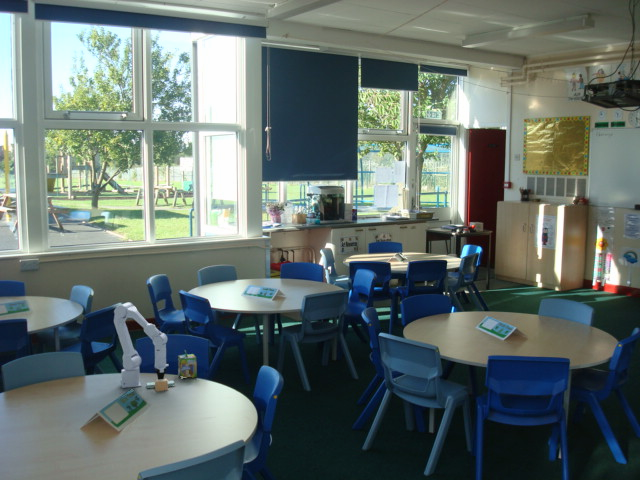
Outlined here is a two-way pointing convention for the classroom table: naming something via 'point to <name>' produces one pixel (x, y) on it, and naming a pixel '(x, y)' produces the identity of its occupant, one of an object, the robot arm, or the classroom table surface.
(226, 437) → the classroom table surface
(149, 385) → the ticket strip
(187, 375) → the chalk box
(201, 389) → the classroom table surface
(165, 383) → the stub
